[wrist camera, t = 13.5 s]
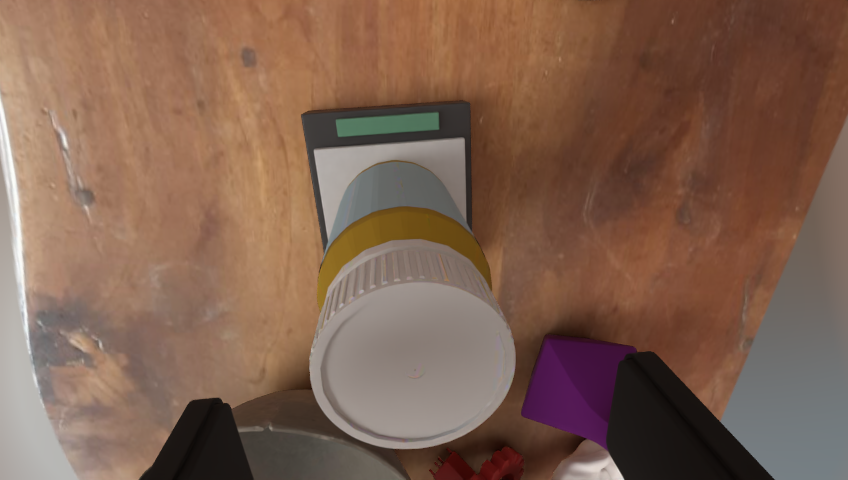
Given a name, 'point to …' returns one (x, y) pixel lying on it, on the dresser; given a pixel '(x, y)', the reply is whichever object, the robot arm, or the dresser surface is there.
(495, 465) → the red toothed curved piece
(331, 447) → the bowl
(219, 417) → the robot arm
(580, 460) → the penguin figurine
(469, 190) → the scale
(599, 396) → the perfume bottle
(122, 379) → the dresser surface
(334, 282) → the bottle
